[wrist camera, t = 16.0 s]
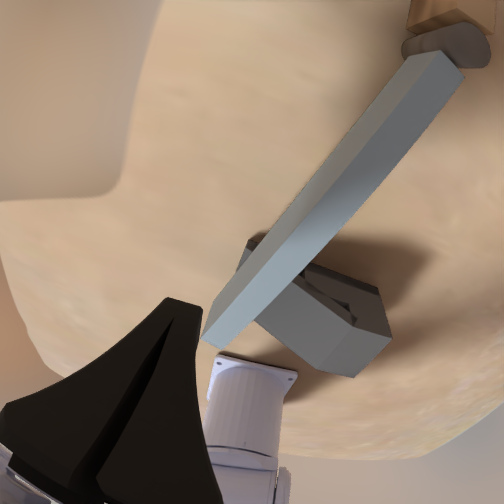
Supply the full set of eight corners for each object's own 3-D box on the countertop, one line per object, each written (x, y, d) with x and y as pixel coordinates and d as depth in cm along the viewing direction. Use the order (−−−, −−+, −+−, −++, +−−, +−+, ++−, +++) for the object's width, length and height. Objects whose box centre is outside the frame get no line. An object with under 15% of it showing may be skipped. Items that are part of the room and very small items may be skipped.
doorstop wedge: (377, 287, 20) (392, 338, 15) (347, 327, 22) (353, 378, 18) (248, 239, 19) (234, 287, 15) (229, 288, 21) (213, 338, 17)
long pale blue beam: (232, 311, 20) (221, 349, 17) (213, 300, 19) (200, 338, 17) (430, 76, 10) (465, 77, 7) (408, 56, 10) (440, 49, 7)
